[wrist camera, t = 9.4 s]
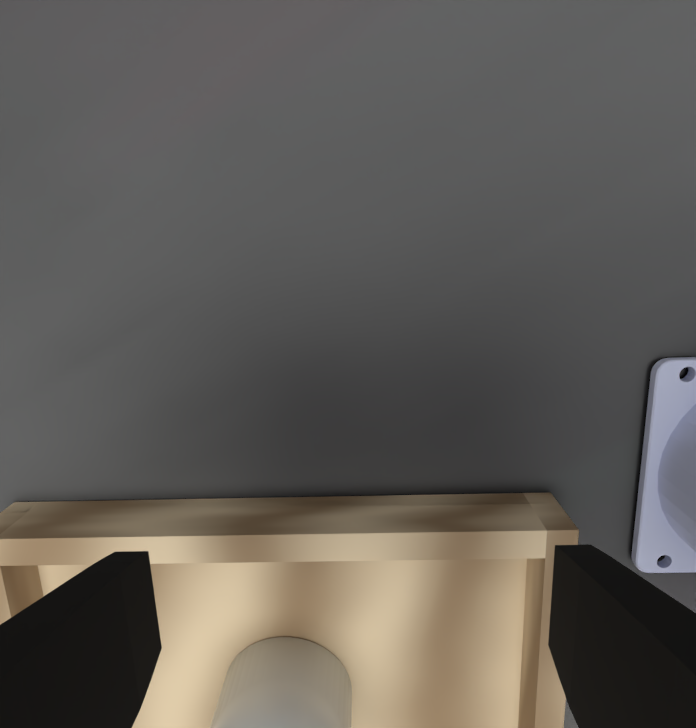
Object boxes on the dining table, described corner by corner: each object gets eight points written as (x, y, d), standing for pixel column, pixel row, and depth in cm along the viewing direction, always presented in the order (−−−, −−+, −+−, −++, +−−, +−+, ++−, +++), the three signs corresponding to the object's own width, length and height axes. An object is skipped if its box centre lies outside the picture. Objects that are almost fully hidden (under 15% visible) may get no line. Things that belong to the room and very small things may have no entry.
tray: (550, 492, 19) (578, 530, 16) (529, 827, 22) (549, 898, 20) (14, 502, 19) (-36, 539, 17) (80, 825, 23) (46, 894, 21)
